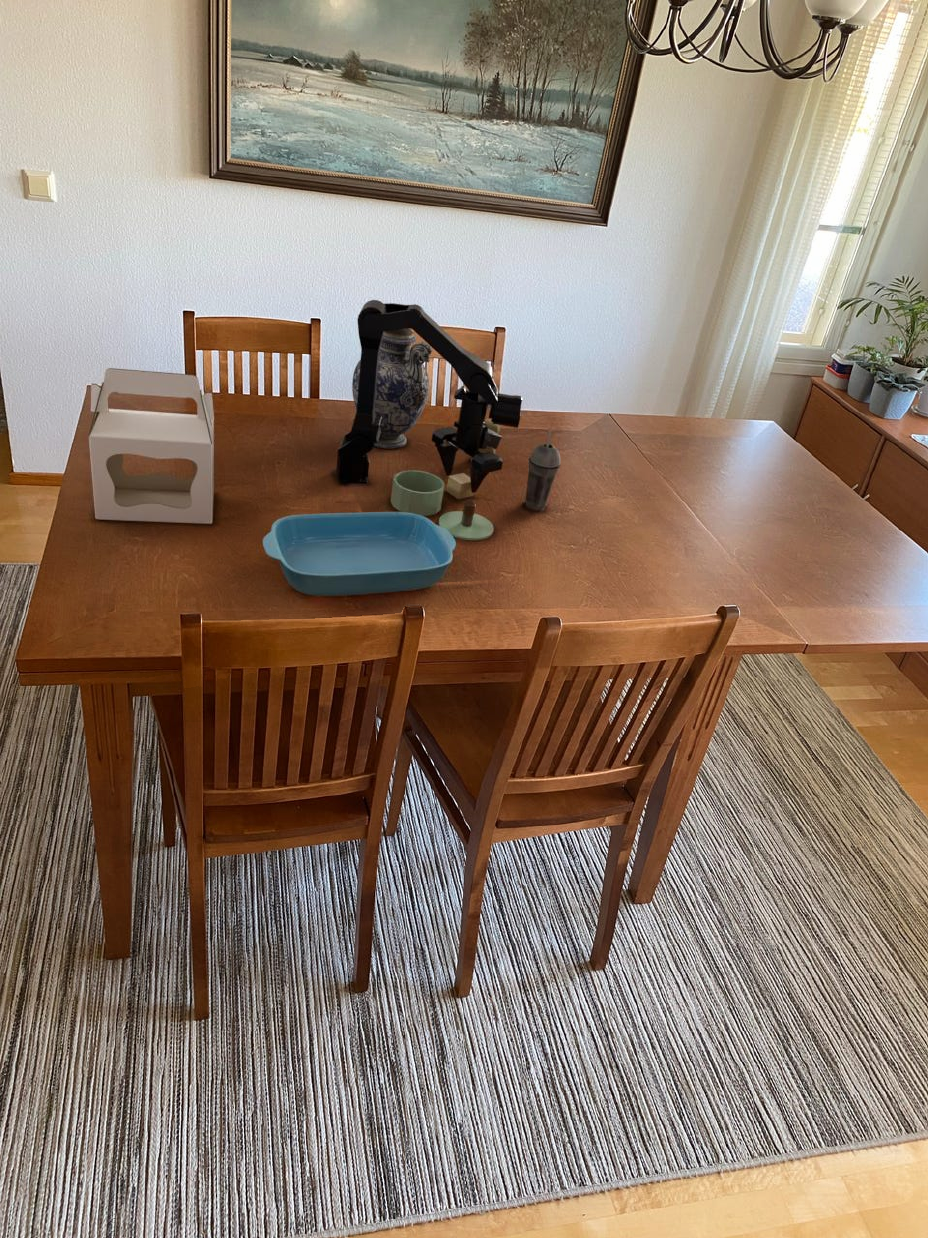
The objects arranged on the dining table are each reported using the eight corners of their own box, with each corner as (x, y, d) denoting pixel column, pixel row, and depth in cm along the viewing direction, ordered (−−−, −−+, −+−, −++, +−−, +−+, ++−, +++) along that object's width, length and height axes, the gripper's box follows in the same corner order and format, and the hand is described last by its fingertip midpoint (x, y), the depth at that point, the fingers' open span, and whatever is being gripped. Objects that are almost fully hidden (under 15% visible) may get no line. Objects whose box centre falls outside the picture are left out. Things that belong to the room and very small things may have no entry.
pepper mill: (485, 469, 220) (492, 428, 214) (465, 460, 223) (473, 419, 217) (499, 463, 225) (507, 422, 218) (480, 455, 227) (487, 414, 221)
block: (457, 501, 203) (460, 484, 201) (445, 493, 206) (448, 475, 204) (472, 498, 206) (475, 480, 204) (460, 489, 209) (463, 472, 206)
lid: (448, 544, 186) (452, 517, 183) (431, 516, 195) (434, 490, 192) (500, 542, 191) (506, 516, 187) (481, 515, 200) (486, 490, 196)
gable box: (214, 494, 188) (215, 364, 173) (213, 524, 178) (213, 389, 162) (102, 488, 183) (92, 354, 167) (93, 519, 172) (82, 379, 157)
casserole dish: (273, 610, 157) (275, 575, 153) (252, 545, 173) (253, 513, 169) (467, 597, 170) (473, 565, 166) (430, 539, 187) (435, 508, 183)
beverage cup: (554, 506, 209) (573, 426, 198) (543, 518, 203) (562, 436, 192) (525, 497, 211) (543, 417, 200) (514, 507, 205) (531, 426, 194)
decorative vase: (328, 434, 223) (336, 322, 208) (375, 418, 237) (387, 311, 221) (394, 464, 214) (408, 349, 199) (439, 446, 228) (456, 337, 213)
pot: (398, 518, 192) (401, 493, 189) (384, 494, 200) (387, 470, 197) (447, 517, 196) (451, 492, 193) (431, 493, 205) (435, 469, 201)
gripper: (526, 431, 195) (513, 495, 204) (472, 399, 206) (462, 461, 215) (488, 438, 189) (476, 503, 197) (435, 405, 199) (425, 469, 208)
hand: (460, 483), depth 204 cm, fingers open, 9 cm apart
